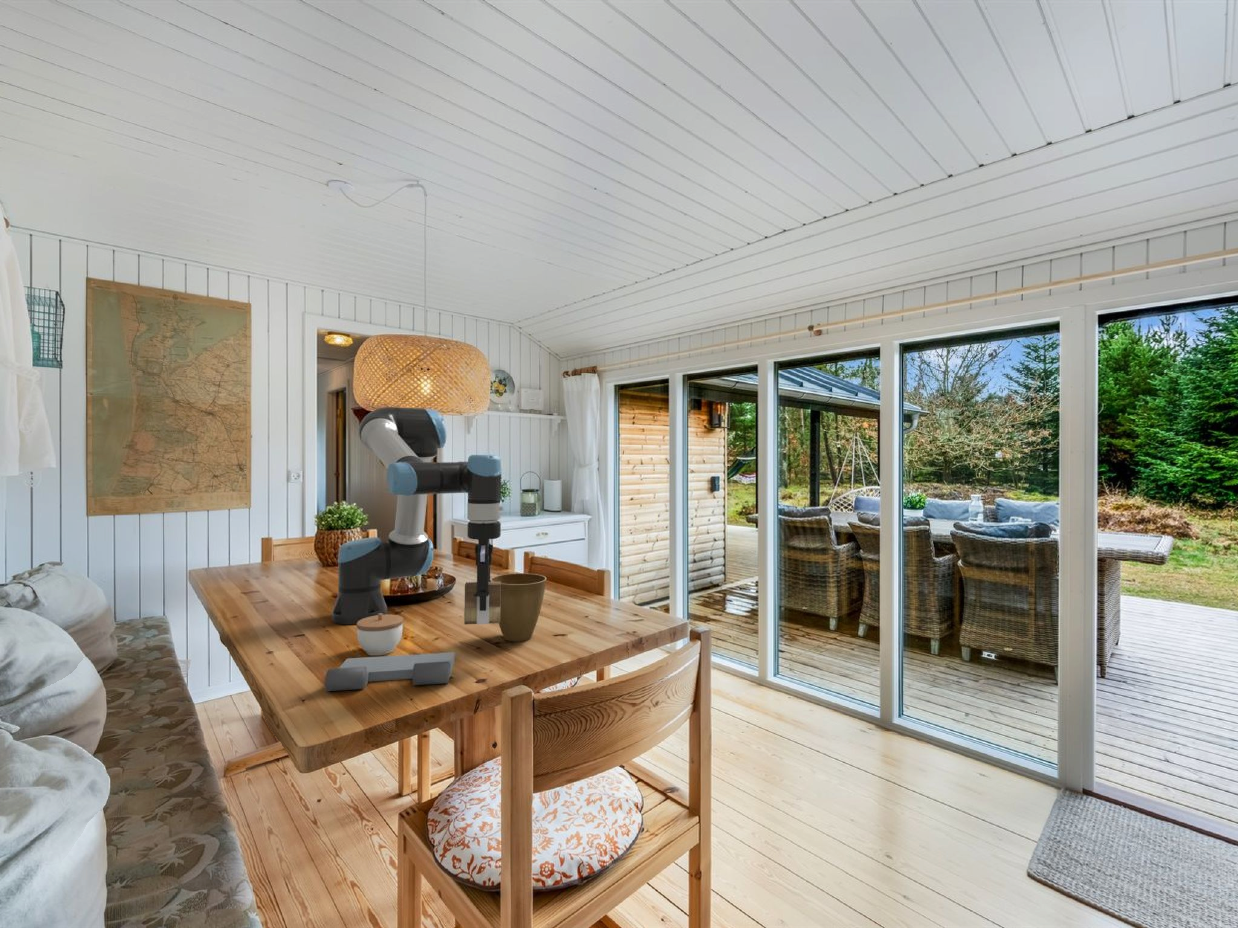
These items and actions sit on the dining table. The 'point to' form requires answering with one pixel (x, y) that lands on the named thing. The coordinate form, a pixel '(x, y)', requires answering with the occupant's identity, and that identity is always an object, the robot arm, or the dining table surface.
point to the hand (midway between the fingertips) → (483, 620)
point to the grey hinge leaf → (391, 670)
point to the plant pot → (520, 604)
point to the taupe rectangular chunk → (471, 602)
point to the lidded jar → (379, 633)
